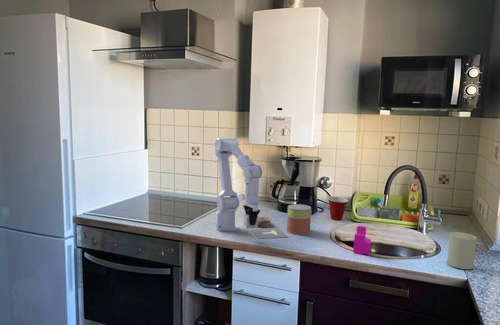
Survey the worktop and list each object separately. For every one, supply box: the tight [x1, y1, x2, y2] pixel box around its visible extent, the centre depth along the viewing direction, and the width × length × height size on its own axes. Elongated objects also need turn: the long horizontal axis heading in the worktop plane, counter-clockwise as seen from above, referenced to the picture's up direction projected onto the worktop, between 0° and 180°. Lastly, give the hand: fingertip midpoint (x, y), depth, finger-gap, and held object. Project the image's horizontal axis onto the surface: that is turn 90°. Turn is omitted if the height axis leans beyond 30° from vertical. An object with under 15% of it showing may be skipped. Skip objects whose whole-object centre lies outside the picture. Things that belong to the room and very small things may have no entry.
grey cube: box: [243, 213, 259, 229], centre depth 166 cm, size 5×5×5 cm
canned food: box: [286, 203, 312, 236], centre depth 181 cm, size 11×11×12 cm
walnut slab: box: [258, 216, 271, 228], centre depth 190 cm, size 7×7×4 cm
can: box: [446, 231, 478, 270], centre depth 145 cm, size 9×9×12 cm
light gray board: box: [251, 227, 289, 240], centre depth 178 cm, size 14×14×1 cm
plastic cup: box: [327, 196, 349, 222], centre depth 203 cm, size 11×11×12 cm
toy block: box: [353, 225, 372, 256], centre depth 162 cm, size 15×6×8 cm, turn 159°
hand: (250, 223), depth 167 cm, fingers closed on grey cube, 5 cm apart
